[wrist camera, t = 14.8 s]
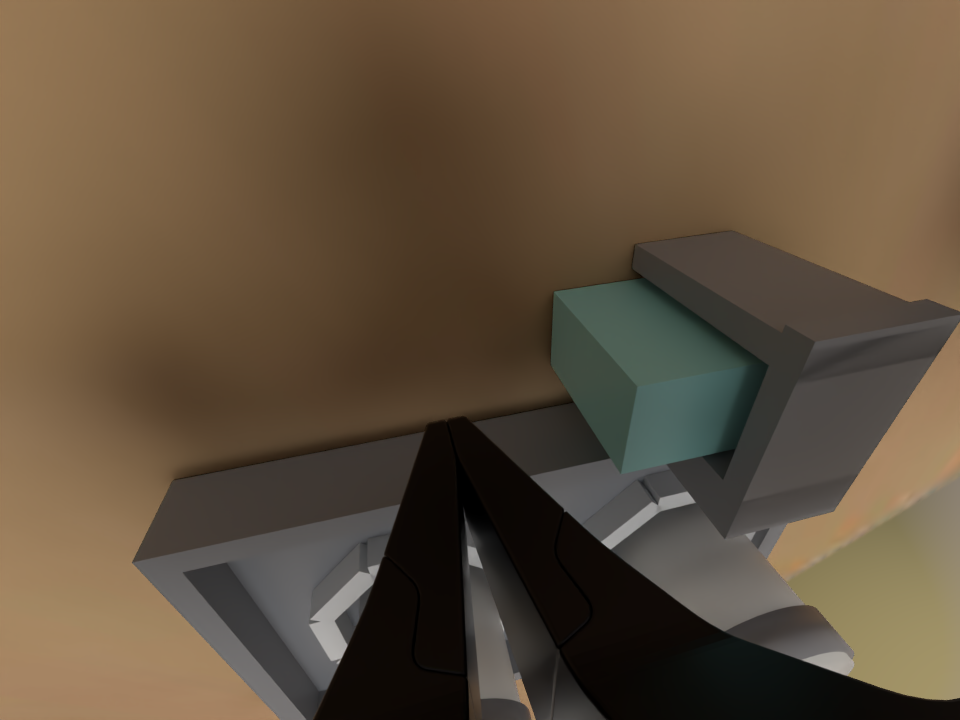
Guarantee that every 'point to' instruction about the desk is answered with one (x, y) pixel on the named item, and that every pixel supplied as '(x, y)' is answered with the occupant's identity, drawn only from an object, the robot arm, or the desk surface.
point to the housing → (551, 466)
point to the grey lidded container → (731, 586)
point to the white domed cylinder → (488, 654)
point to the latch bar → (651, 374)
